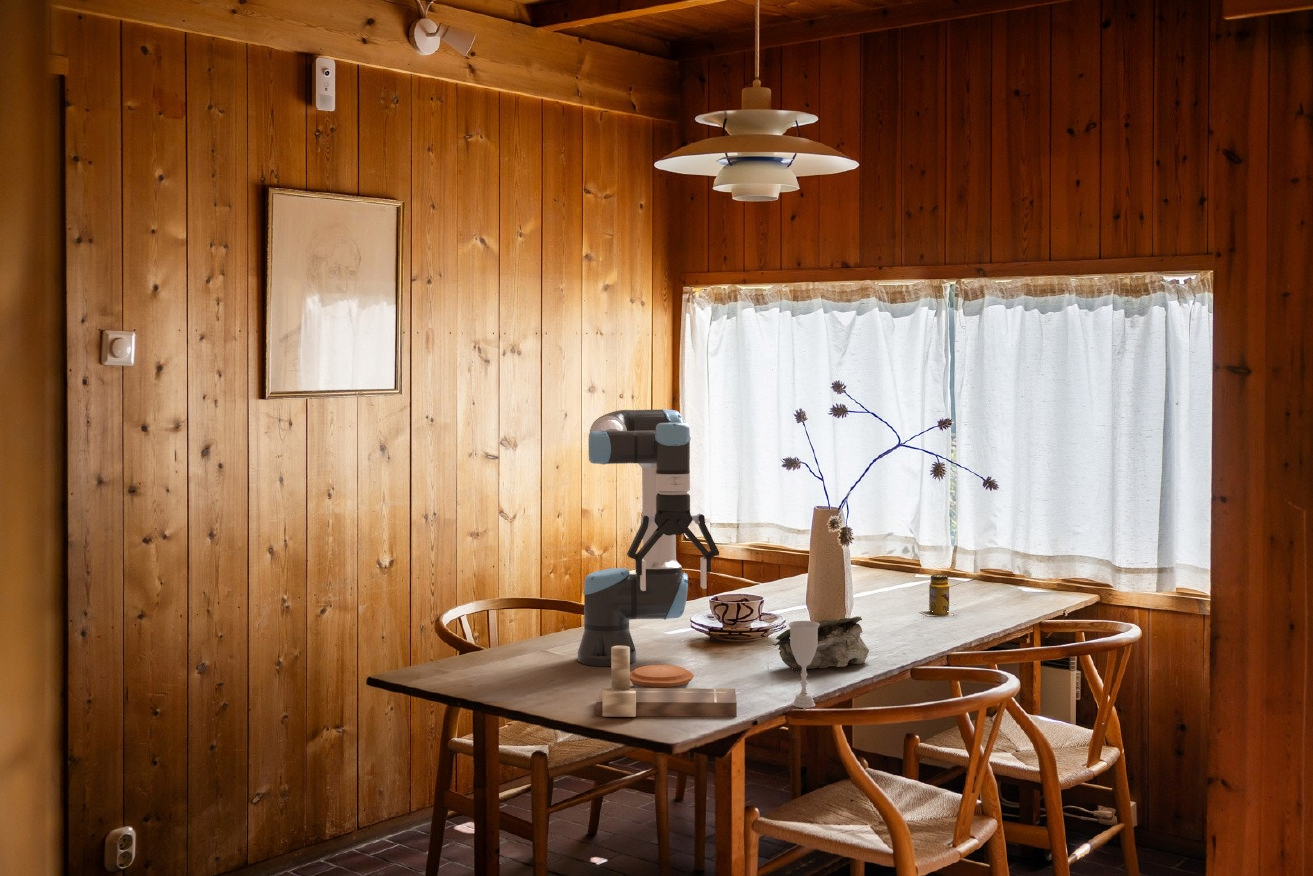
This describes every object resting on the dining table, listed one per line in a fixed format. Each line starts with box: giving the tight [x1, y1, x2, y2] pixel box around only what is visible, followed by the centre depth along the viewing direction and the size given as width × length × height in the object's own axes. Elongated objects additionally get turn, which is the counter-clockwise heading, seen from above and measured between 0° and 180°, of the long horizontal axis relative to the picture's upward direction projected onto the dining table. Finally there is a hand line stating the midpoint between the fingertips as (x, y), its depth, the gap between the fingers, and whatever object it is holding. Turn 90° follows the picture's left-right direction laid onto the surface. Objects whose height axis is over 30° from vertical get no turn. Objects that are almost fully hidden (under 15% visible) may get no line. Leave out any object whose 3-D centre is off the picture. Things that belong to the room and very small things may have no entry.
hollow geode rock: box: [772, 616, 870, 674], centre depth 301 cm, size 28×13×15 cm
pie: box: [630, 664, 695, 688], centre depth 281 cm, size 16×16×5 cm
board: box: [595, 687, 738, 718], centre depth 264 cm, size 30×12×3 cm, turn 88°
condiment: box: [918, 574, 954, 617], centre depth 373 cm, size 7×8×12 cm
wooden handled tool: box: [602, 646, 637, 718], centre depth 261 cm, size 7×11×14 cm, turn 178°
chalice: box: [787, 620, 820, 709], centre depth 266 cm, size 7×7×18 cm
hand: (673, 589), depth 266 cm, fingers open, 13 cm apart
